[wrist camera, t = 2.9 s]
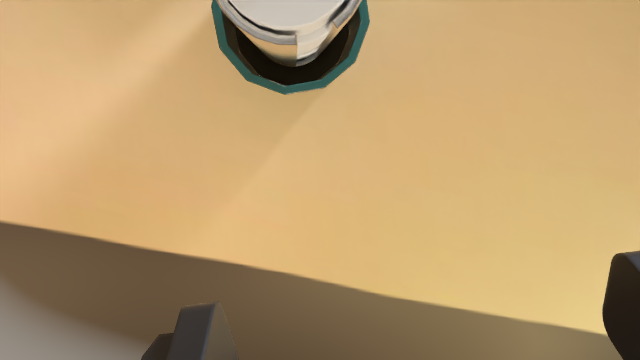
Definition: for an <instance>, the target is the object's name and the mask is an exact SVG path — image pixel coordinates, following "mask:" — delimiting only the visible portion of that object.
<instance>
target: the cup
mask: <svg viewBox="0 0 640 360" xmlns="http://www.w3.org/2000/svg"><path fill="white" fill-rule="evenodd" d="M211 8H212V13H213V18H214V23H215V28H216V33H217V38H218V43H219V48H220V50H221V51H222V52H223V53H224V54H225V56H226V57H227V58H228V59H229V60H230V61H231V63H232V64H233V65H234V66H235V67H236V69H237V70H238V71H239V72H240V73H241V74H242V76H243V77H244V78H245V79H246V80H247V81H249V82H252V83H254V84H257V85H260V86H262V87H265V88H268V89H271V90H273V91H276V92H279V93H281V94H285V95H287V94H292V93H298V92H304V91H310V90H315V89H321V88H325V87H326V86H327V85H328V84H330V83H331V82H332V81H333V80H334V79H336V78H337V77H338V76H339V75H340V74H341V73H343V72H344V71H345V70H346V69H347V68H349V67H350V66H351V65H352V64H353V63H355V61H356V59H357V56H358V53H359V50H360V48H361V45H362V42H363V40H364V37H365V34H366V32H367V29H368V26H369V22H370V20H369V14H368V7H367V0H362V1H361V3H360V4H359V6H358V8H357V9H356V11H355V13H354V14H353V16H352V17H351V18H350V19H349V21H348V27H349V36H348V38H347V41H346V44H345V46H344V49H343V52H342V55H341V57H340V60H339V62H338V63H337V64H336V65H334V66H333V67H332V68H331V69H330V70H328V71H327V72H326V73H325V74H324V75H323V76H321V77H320V78H319V79H318V80H317V81H311V82H305V83H300V84H294V85H288V86H286V85H284V84H281V83H278V82H276V81H273V80H270V79H268V78H265V77H262V76H260V75H259V74H258V73H257V72H256V71H255V70H254V68H253V67H252V66H251V65H250V64H249V62H248V61H247V60H246V59H245V58H244V56H243V55H242V54H241V53H240V51H239V46H238V40H237V35H236V30H235V25H234V23H233V22H232V21H231V20H230V19H229V17H228V16H227V15H226V14H225V13H224V12H223V11H222V10H221V8H220V6H219V4H218V3H217V1H216V0H213V2H212V5H211Z"/></svg>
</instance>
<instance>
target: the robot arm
mask: <svg viewBox="0 0 640 360" xmlns="http://www.w3.org/2000/svg"><path fill="white" fill-rule="evenodd" d="M602 314H603V322H604V326H605V329H606V332H607V334H608V336H609V338H610V340H611V342H612V343H613V345H614V346H615V348H616V349H617V351H618V352H619V354H620V355H621V356H622V358H623V360H640V251H634V252H626V253H618V254H616V255H615V256H614V257H613V259H612V262H611V267H610V272H609V277H608V282H607V288H606V293H605V298H604V304H603V312H602ZM141 360H239V359H238V353H237V350H236V346H235V343H234V340H233V337H232V334H231V331H230V328H229V325H228V322H227V318H226V315H225V312H224V309H223V306H222V304H221V303H220V302H211V303H203V304H194V305H186V306H183V307H182V308H181V311H180V313H179V317H178V320H177V324H176V327H175V330H174V333H169V334H160V335H159V336H158V337H157V338H156V339H155V341H154V342H153V343H152V345H151V346H150V347H149V348H148V350H147V351H146V352H145V354H144V355H143V356H142V359H141Z"/></svg>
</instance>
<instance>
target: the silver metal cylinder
mask: <svg viewBox="0 0 640 360" xmlns="http://www.w3.org/2000/svg"><path fill="white" fill-rule="evenodd" d="M216 1H217V3H218V4H219V6H220V8H221V10H222V11H223V12H224V13H225V14H226V15H227V16H228V17H229V19H230V20H231V21H232V22H233V23H234V24H235V25H236V26H237V27H238V28H239V29H240V30H241V31H242V32H243V33H244V34H245V35H246V36H247V37H248V38H249V39H250V40H251V41H252V42H253V43H254V44H255V45H256V46H257V47H258V48H259V49H260V50H261V51H262V52H263V53H264V54H265V55H266V56H267V57H268V58H269V59H271V60H272V61H274V62H275V63H277V64H281V65H284V66H295V67H296V66H301V65H305V64H307V63H309V62H311V61H313V60H314V59H316V58H317V57H318V56H319V55H320V54H321V53H322V52H323V51H324V49H325V48H326V47H327V46H328V45H329V43H330V42H331V41H332V40H333V39H334V37H335V36H336V35H337V34H338V33H339V31H340V30H341V29H342V28H343V27H344V25H345V24H346V23H347V22H348V21H349V19H350V18H351V17H352V16H353V14H354V13H355V11H356V9H357V8H358V6H359V4H360V3H361V1H362V0H216Z"/></svg>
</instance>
